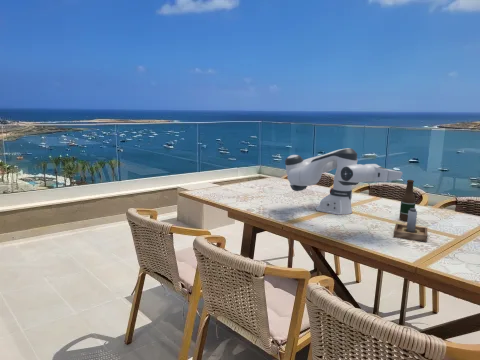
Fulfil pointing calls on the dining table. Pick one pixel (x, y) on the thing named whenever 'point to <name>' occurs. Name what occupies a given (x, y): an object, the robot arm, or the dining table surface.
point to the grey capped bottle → (411, 220)
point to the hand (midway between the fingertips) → (394, 172)
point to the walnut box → (417, 236)
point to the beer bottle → (407, 201)
